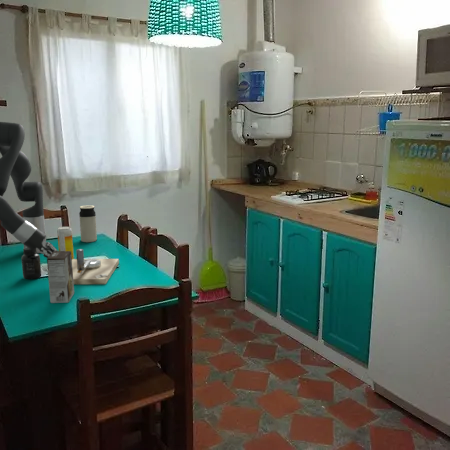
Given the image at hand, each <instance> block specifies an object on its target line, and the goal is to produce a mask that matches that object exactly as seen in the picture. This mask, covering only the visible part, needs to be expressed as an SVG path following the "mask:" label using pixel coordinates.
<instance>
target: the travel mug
mask: <svg viewBox="0 0 450 450" xmlns="http://www.w3.org/2000/svg"><path fill="white" fill-rule="evenodd" d="M79 210H80V211H79V213H78V215H79V228H80V230H79V231H80V241H81V242H83V243H93V242H96V241H97V239H98V236H97V234H98V233H97V216H96V211H95V205H92V204H91V205H81V206H79Z"/></svg>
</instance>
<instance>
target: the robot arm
mask: <svg viewBox="0 0 450 450" xmlns="http://www.w3.org/2000/svg"><path fill="white" fill-rule="evenodd" d="M25 136H26V132H25V128H24V126H23V125H22V124H21V123H18V122H17V123H15V122H9V121H7V122H6V121H0V155H1V157H0V225H1V227H2V229H4V230H6V231H7V232H8V233H10V234H11V235H12V236H13V237H14V238H15V239H16V240H17V241H18V242H20V243H22V245H23V249H24V248H26V247H28V248H29V249H30V250H35V249H36V250H37V252H36V253H37V254H42V255H43V257H44V258H46V259H47V258H48V257H49V256H50V254H51V253H52V252H53V251H58V248H56V247H55V246H54V245H53V244H52V243H51V242H49V241H47V238H46V236H47V235H46V224H45V213H44V194H43V193H44V190H43V189H44V188H43V184H42V182H40V181H27V179H28V178H29V177H30V174H31V172H32V166H31V163H30V160H29V158H28V156H27V154H25V153H24V152H23V151H22V147H23V145H24V143H25ZM10 177H11V180H12V182H13V185H14V188H15V193H16V196H17V198H18V199H19V200H20V201H21V202H25V203H27V202H34V204H33V205H32V206H30V207H28V208H25V209H23V210H22V216H21V215H20V214H18V213H17V212H16V210H15V209H14V208H13V206H11V205H10V203H9V202H8V200H6V199H5V198H4V197H3V196H4V194H5V193H6V191H7V189H8V185H9V181H10Z"/></svg>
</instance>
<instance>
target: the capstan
mask: <svg viewBox="0 0 450 450" xmlns="http://www.w3.org/2000/svg"><path fill="white" fill-rule="evenodd" d="M75 253H76V259H77V269H78V271H77V273H83V272H84V270H85V269H94V268H98V267H100V266H101V261H100V260H97V259H98V258H87V259H88V260H84V259H85V255H84V249H83V248H78V249H76V251H75Z"/></svg>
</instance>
